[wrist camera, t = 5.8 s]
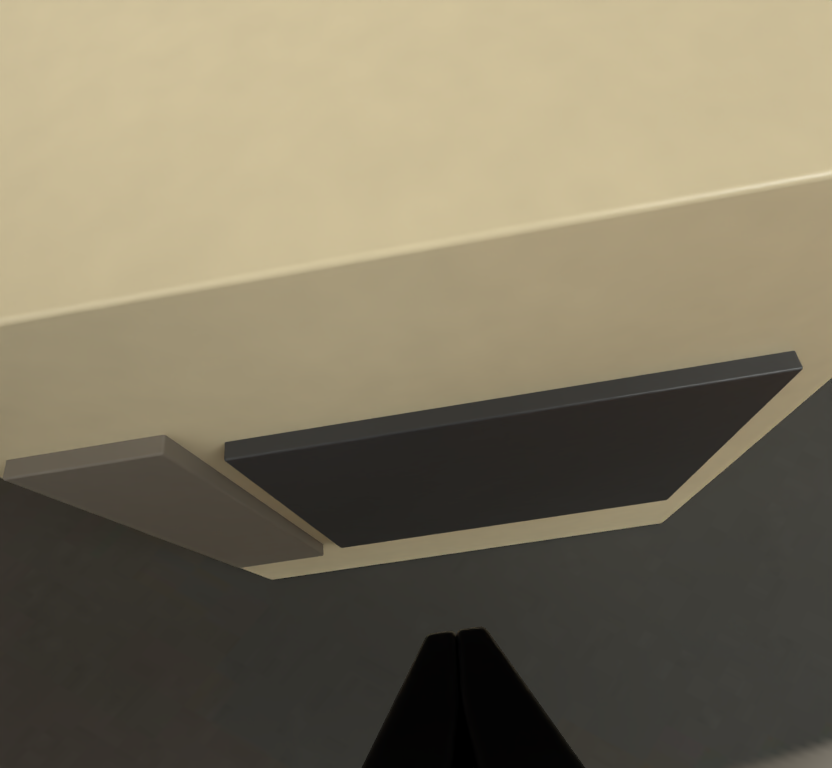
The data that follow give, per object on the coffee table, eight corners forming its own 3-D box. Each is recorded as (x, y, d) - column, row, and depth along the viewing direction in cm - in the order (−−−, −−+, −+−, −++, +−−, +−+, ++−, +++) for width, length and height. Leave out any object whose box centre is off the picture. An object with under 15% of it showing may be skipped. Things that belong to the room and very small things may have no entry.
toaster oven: (665, 532, 16) (1163, 145, 4) (270, 589, 16) (-300, 400, 5) (561, 196, 21) (640, -379, 9) (268, 249, 22) (7, -228, 10)
